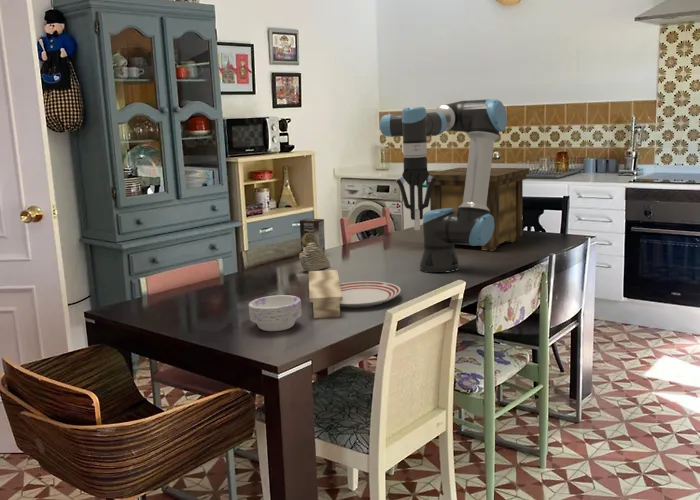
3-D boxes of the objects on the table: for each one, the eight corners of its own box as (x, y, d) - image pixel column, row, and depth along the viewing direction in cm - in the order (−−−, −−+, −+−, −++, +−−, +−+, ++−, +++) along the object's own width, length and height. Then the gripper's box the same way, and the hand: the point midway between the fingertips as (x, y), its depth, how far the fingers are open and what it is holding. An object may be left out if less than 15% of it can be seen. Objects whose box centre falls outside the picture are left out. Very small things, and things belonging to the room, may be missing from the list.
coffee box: (300, 257, 301) (298, 220, 298) (307, 254, 307) (305, 218, 304) (320, 257, 298) (318, 220, 295) (326, 254, 304) (324, 218, 300)
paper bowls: (254, 320, 211) (253, 294, 209) (304, 318, 210) (303, 293, 208) (245, 336, 196) (243, 308, 194) (299, 334, 195) (297, 307, 194)
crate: (497, 254, 289) (497, 175, 283) (424, 247, 309) (422, 174, 303) (529, 239, 317) (529, 168, 311) (460, 234, 337) (459, 167, 331)
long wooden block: (337, 286, 246) (337, 269, 245) (343, 316, 210) (342, 296, 209) (309, 288, 246) (308, 271, 245) (310, 318, 210) (309, 298, 208)
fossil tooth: (333, 270, 278) (305, 274, 267) (322, 267, 282) (294, 271, 272) (334, 242, 276) (307, 245, 266) (323, 240, 281) (296, 242, 270)
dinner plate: (339, 317, 210) (339, 306, 210) (304, 297, 234) (304, 288, 234) (416, 303, 222) (416, 293, 221) (376, 286, 246) (375, 277, 246)
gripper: (396, 158, 217) (398, 232, 221) (437, 156, 218) (439, 230, 222) (393, 156, 224) (395, 228, 229) (433, 154, 225) (434, 226, 230)
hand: (417, 229), depth 226 cm, fingers closed
